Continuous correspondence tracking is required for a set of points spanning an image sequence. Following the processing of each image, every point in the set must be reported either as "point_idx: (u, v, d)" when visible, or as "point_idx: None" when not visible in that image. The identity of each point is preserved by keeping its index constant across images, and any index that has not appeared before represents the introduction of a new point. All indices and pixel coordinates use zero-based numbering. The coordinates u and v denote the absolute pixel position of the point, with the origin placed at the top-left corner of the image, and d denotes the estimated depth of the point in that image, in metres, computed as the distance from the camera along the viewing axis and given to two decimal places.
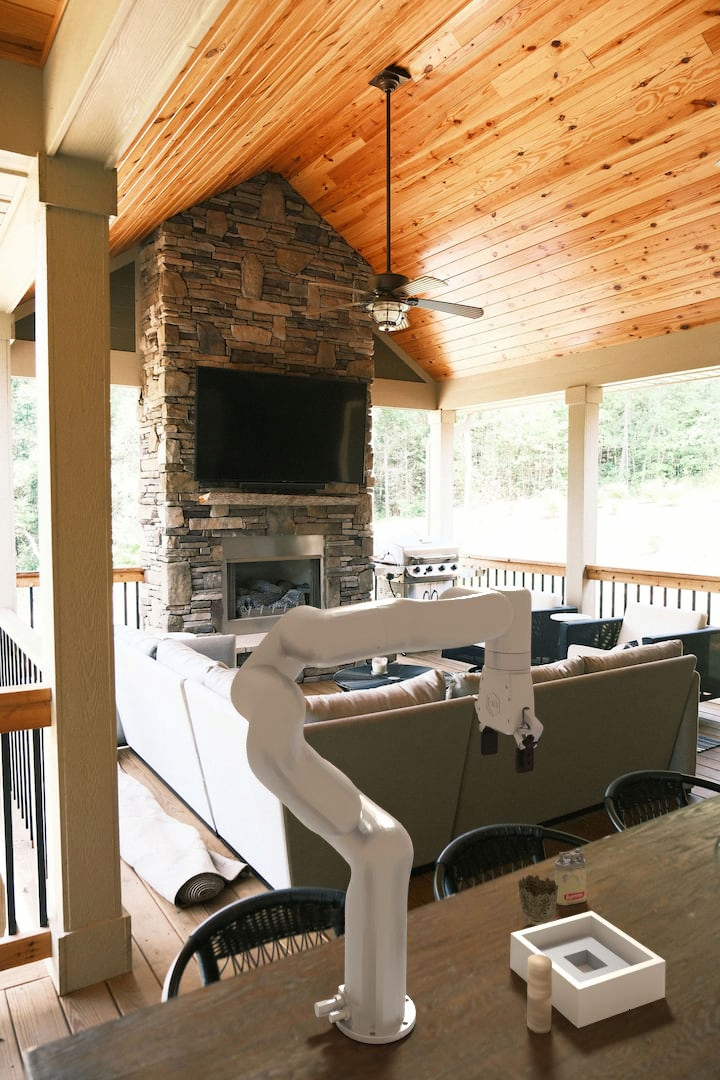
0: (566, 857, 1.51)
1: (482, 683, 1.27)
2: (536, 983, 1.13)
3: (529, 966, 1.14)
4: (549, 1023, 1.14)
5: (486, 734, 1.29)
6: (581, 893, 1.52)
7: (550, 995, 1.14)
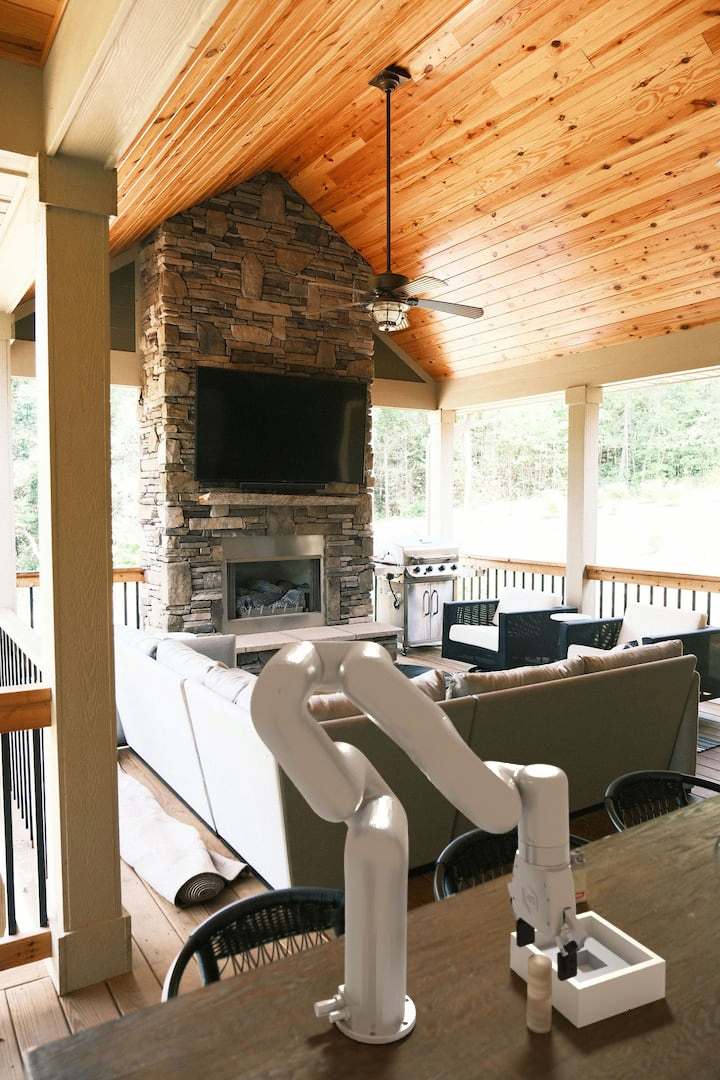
0: None
1: (516, 871, 1.16)
2: (536, 983, 1.13)
3: (529, 966, 1.14)
4: (549, 1023, 1.14)
5: (522, 924, 1.18)
6: (581, 893, 1.52)
7: (550, 995, 1.14)
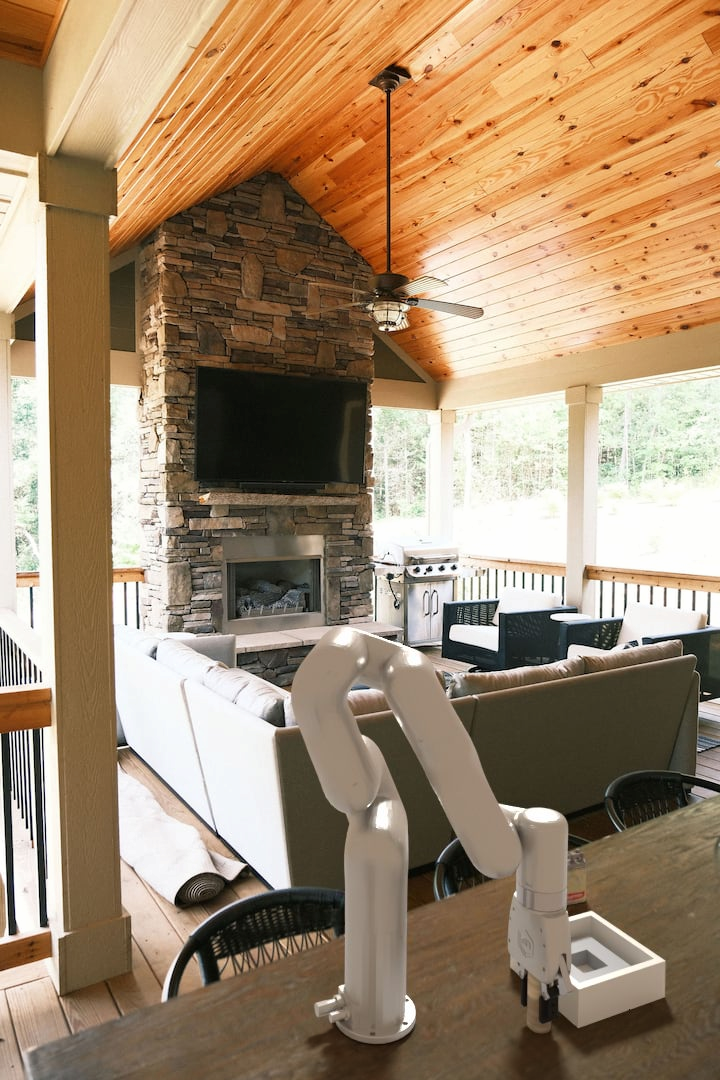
0: None
1: (513, 913, 1.16)
2: (536, 983, 1.13)
3: None
4: (549, 1023, 1.14)
5: (527, 983, 1.16)
6: (581, 893, 1.52)
7: None
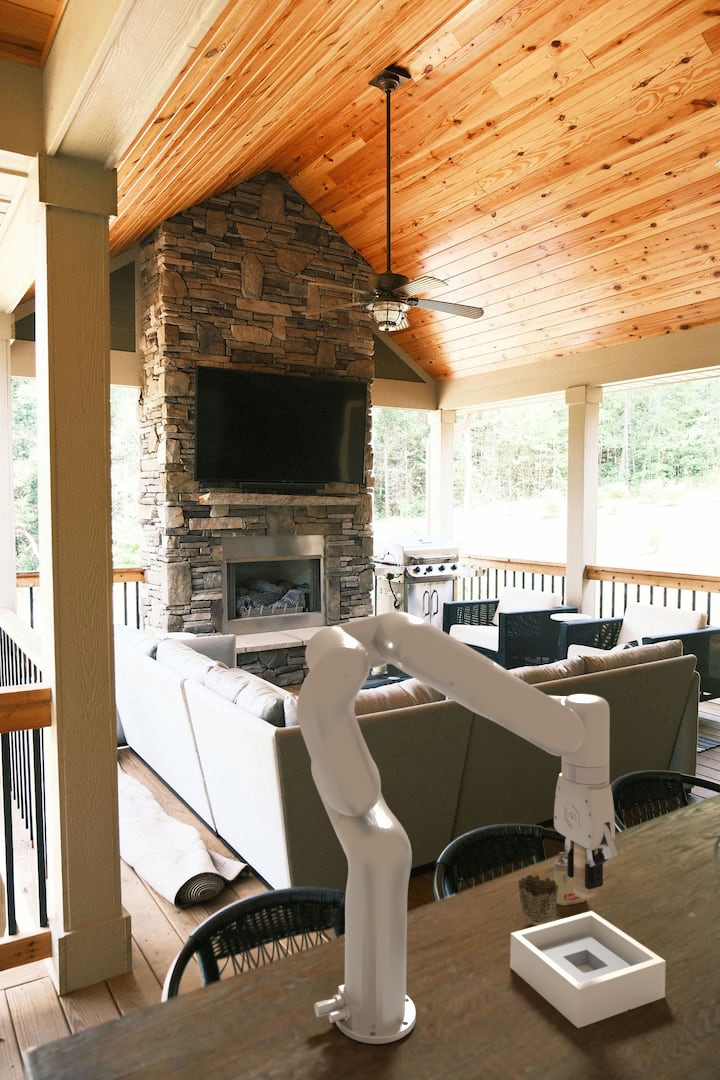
0: (566, 857, 1.51)
1: (559, 792, 1.26)
2: (582, 853, 1.22)
3: None
4: (594, 890, 1.23)
5: (573, 856, 1.25)
6: None
7: None
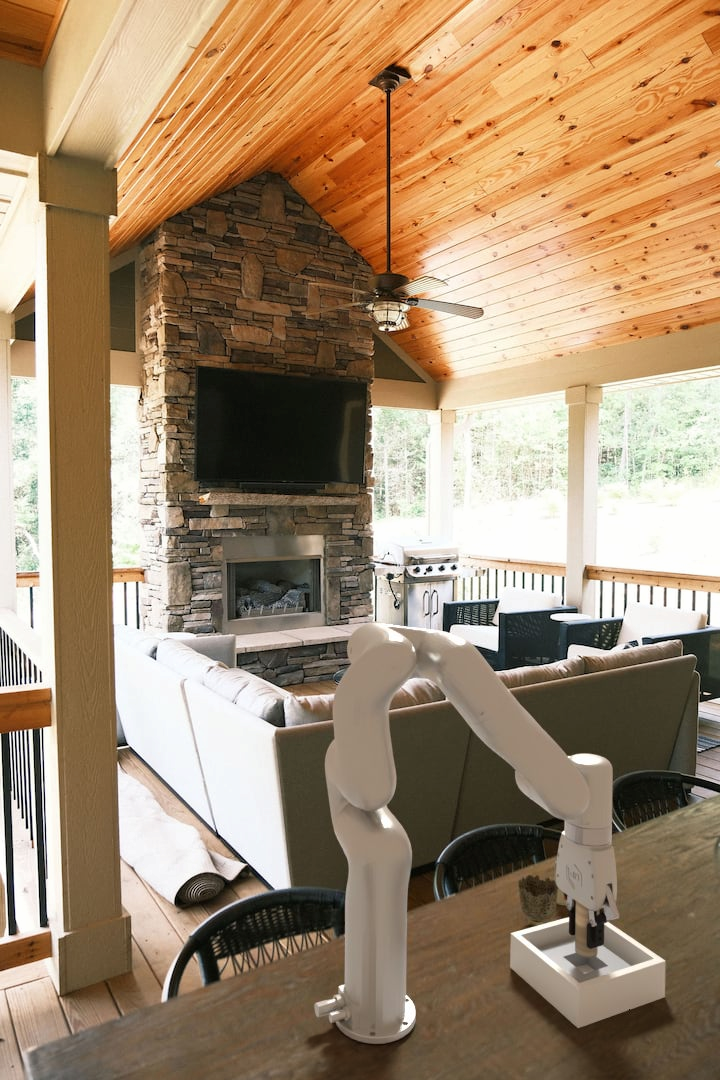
0: None
1: (561, 850, 1.27)
2: (584, 912, 1.24)
3: None
4: (596, 949, 1.24)
5: (575, 914, 1.27)
6: None
7: None
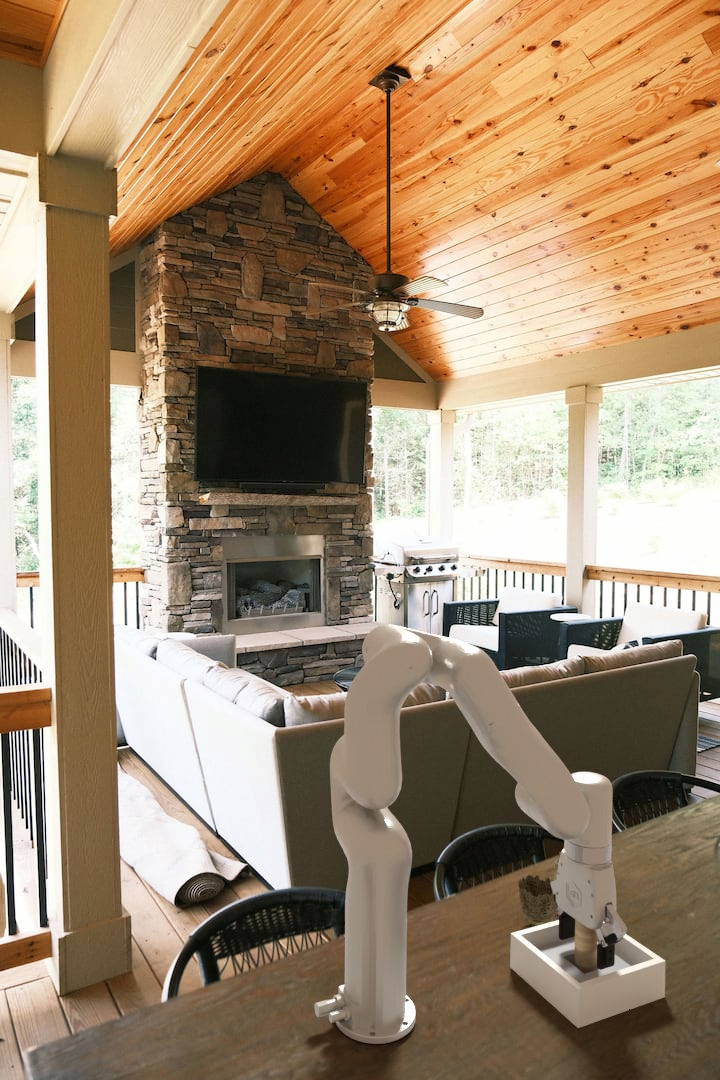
0: None
1: (561, 868, 1.27)
2: (583, 936, 1.24)
3: (577, 921, 1.25)
4: None
5: (564, 919, 1.29)
6: None
7: (596, 948, 1.24)
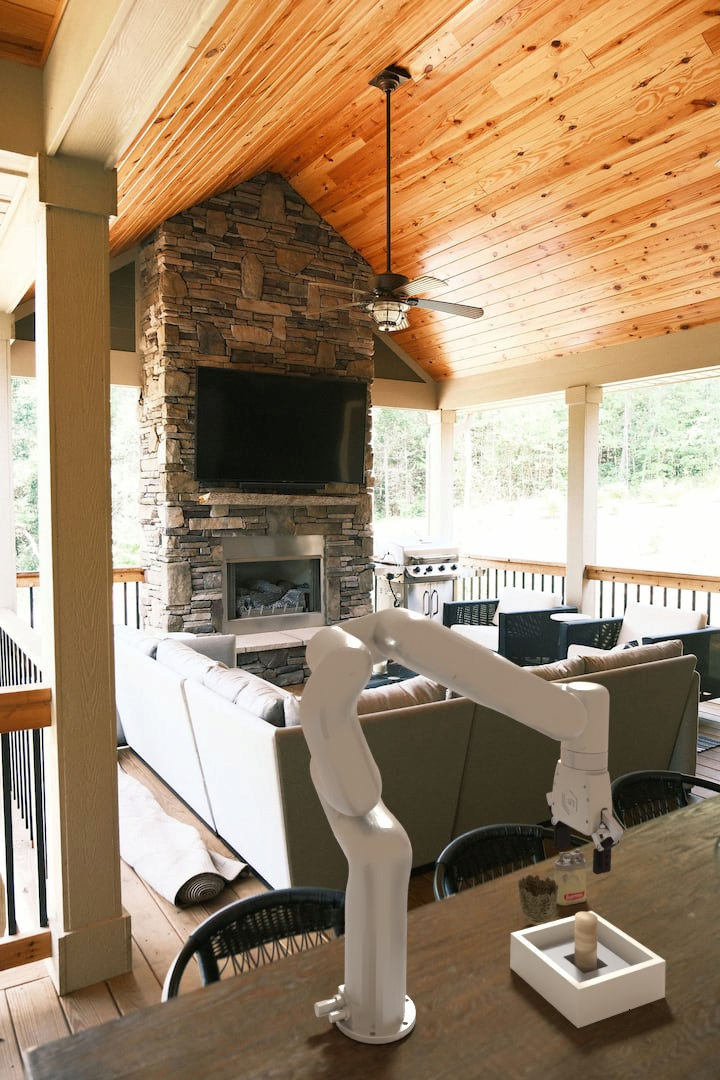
0: (566, 857, 1.51)
1: (557, 778, 1.27)
2: (583, 937, 1.24)
3: (577, 922, 1.25)
4: None
5: (559, 828, 1.29)
6: (581, 893, 1.52)
7: (596, 948, 1.24)
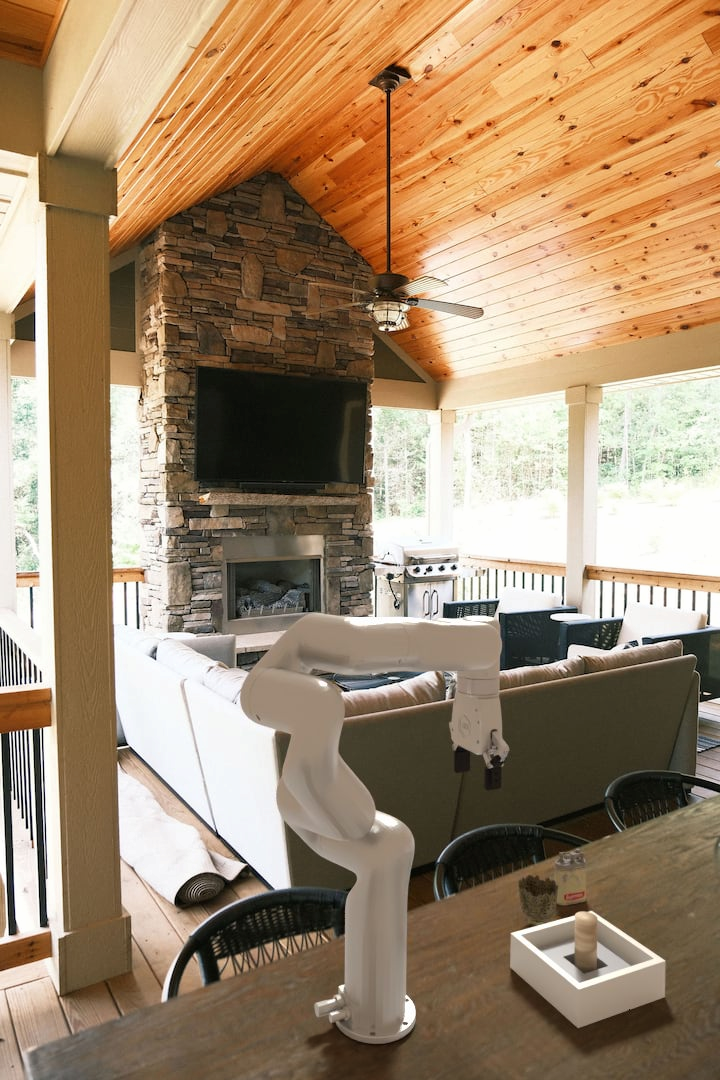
0: (566, 857, 1.51)
1: (455, 705, 1.37)
2: (583, 936, 1.24)
3: (576, 922, 1.25)
4: None
5: (459, 753, 1.39)
6: (581, 893, 1.52)
7: (596, 948, 1.24)
